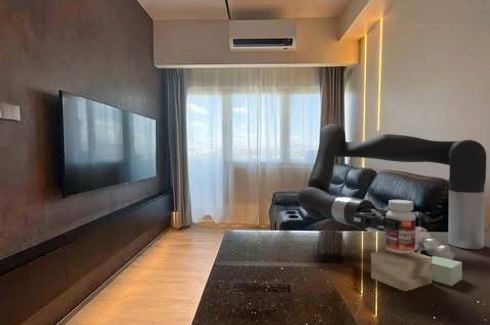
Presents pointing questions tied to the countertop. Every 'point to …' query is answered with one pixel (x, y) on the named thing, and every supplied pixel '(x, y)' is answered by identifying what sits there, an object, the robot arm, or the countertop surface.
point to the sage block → (446, 270)
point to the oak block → (401, 269)
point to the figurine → (431, 245)
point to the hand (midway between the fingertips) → (410, 224)
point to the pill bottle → (406, 236)
